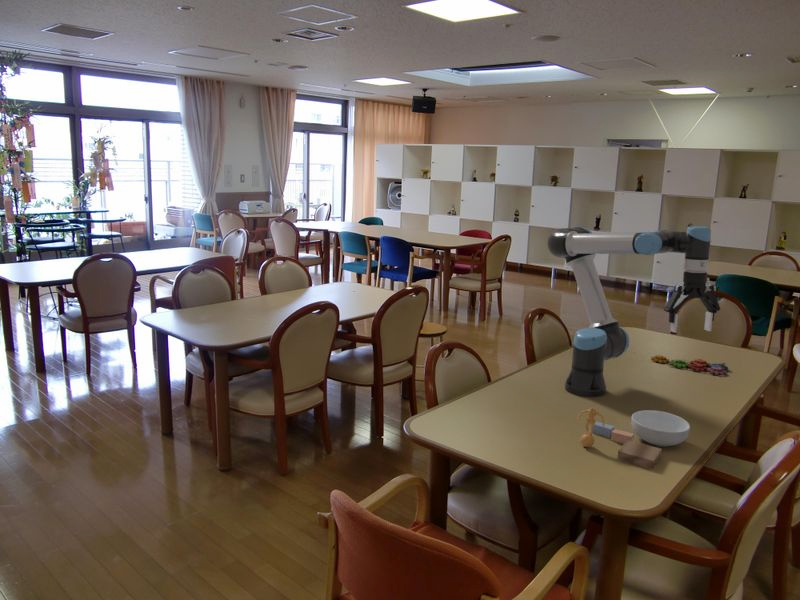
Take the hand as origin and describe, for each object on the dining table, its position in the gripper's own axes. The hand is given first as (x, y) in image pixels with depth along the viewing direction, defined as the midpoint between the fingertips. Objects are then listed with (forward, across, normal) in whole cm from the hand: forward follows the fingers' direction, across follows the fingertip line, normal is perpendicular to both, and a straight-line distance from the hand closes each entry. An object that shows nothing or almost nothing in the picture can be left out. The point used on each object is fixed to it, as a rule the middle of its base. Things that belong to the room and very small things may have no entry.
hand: (690, 331), depth 221 cm
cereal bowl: (+29, -27, -25) cm, 47 cm away
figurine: (+28, -50, -25) cm, 63 cm away
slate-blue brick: (+28, -41, -18) cm, 53 cm away
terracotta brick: (+29, -38, -24) cm, 53 cm away
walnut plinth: (+29, -39, -35) cm, 60 cm away
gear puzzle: (+28, +34, +46) cm, 64 cm away
